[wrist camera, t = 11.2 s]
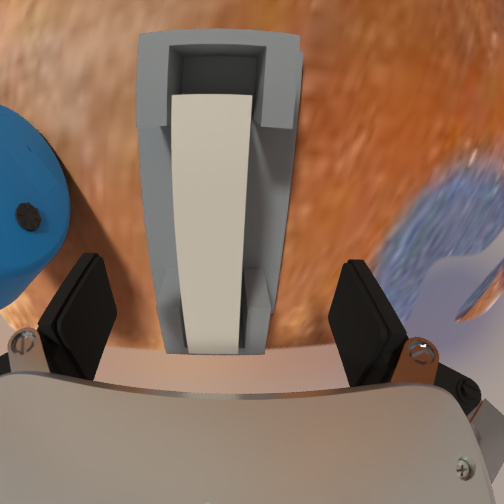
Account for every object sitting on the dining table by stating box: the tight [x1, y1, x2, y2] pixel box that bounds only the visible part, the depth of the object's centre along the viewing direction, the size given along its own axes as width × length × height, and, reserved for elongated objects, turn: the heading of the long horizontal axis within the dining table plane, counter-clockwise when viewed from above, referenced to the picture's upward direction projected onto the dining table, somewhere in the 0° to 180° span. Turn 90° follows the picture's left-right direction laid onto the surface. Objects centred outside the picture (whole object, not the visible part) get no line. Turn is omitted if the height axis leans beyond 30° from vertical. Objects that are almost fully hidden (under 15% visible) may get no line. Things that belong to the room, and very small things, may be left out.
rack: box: [136, 29, 304, 355], centre depth 17 cm, size 10×21×6 cm, turn 177°
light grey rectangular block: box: [171, 94, 252, 354], centre depth 16 cm, size 3×14×7 cm, turn 177°
